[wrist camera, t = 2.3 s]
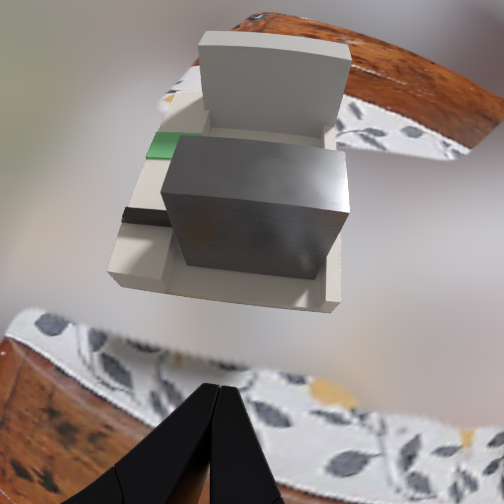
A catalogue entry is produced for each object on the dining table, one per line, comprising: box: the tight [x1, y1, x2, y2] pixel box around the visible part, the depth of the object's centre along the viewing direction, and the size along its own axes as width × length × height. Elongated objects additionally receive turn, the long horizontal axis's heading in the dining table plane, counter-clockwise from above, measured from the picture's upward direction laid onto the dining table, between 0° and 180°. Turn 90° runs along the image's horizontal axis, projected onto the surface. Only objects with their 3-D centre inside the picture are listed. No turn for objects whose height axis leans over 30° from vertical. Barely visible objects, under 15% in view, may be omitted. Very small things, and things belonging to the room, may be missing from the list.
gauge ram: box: [122, 135, 349, 280], centre depth 19 cm, size 4×14×9 cm, turn 84°
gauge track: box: [107, 31, 352, 313], centre depth 22 cm, size 20×16×10 cm
